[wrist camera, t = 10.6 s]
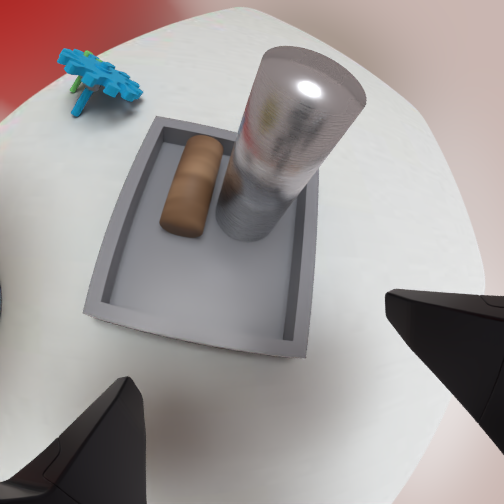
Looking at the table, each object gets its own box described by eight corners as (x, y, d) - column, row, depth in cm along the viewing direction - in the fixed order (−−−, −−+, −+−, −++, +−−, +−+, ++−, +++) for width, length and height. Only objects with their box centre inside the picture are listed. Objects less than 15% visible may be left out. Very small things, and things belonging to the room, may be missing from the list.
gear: (161, 101, 22) (71, 62, 13) (125, 150, 24) (36, 128, 15) (127, 63, 25) (60, 33, 16) (99, 102, 27) (32, 81, 19)
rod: (179, 239, 20) (211, 235, 19) (150, 220, 18) (182, 213, 16) (201, 163, 23) (230, 155, 21) (178, 141, 20) (209, 130, 19)
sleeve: (282, 235, 22) (384, 117, 10) (224, 248, 20) (288, 110, 8) (264, 184, 23) (335, 53, 11) (208, 192, 21) (247, 42, 9)
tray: (290, 357, 19) (305, 358, 17) (94, 318, 17) (82, 313, 15) (307, 173, 25) (318, 156, 23) (156, 136, 23) (156, 116, 20)
